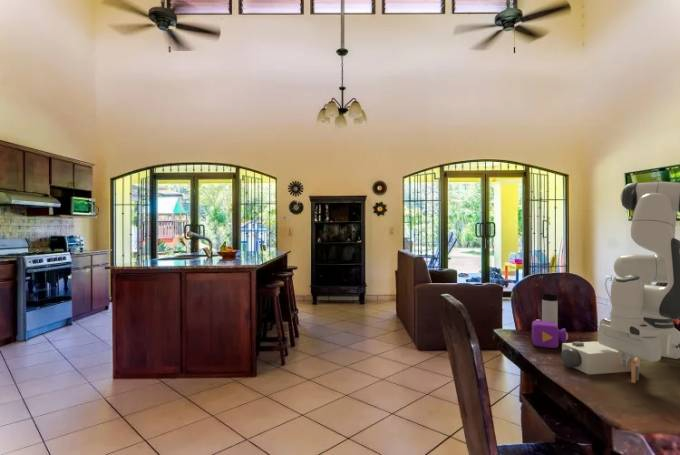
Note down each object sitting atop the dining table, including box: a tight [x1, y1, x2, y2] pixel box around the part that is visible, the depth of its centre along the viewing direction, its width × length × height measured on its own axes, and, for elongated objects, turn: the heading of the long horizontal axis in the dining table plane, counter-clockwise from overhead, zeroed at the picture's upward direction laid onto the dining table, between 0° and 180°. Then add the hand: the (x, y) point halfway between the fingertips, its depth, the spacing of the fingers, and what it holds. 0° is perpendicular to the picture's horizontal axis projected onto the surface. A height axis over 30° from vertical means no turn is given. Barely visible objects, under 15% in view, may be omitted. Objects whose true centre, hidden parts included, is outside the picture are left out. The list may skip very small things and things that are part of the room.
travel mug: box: [541, 292, 559, 326], centre depth 176 cm, size 6×7×20 cm
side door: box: [630, 357, 641, 384], centre depth 127 cm, size 16×2×6 cm, turn 138°
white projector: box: [560, 340, 631, 375], centre depth 137 cm, size 21×12×8 cm, turn 100°
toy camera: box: [531, 319, 569, 349], centre depth 162 cm, size 11×14×10 cm
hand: (626, 366), depth 127 cm, fingers closed
